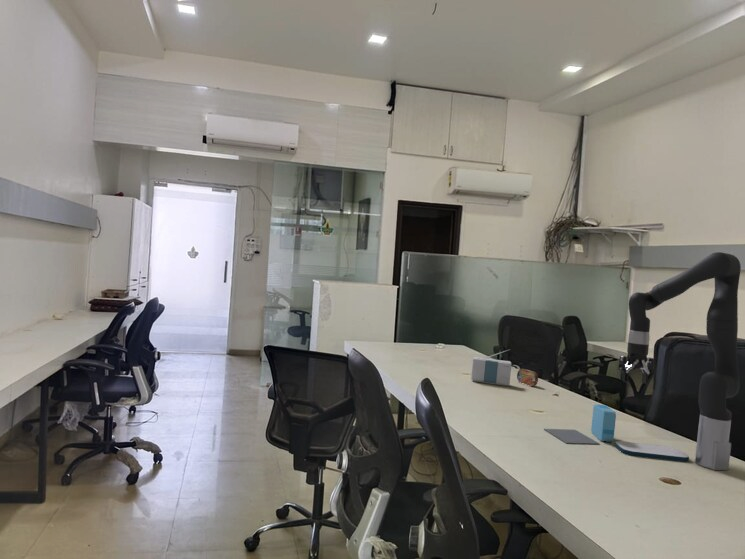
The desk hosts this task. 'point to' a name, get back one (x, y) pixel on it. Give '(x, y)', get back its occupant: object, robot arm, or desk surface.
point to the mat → (571, 436)
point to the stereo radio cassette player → (491, 370)
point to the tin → (527, 377)
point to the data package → (603, 423)
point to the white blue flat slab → (651, 451)
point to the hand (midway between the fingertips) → (634, 382)
